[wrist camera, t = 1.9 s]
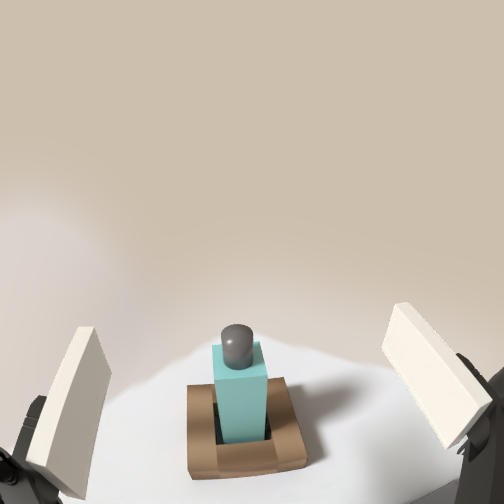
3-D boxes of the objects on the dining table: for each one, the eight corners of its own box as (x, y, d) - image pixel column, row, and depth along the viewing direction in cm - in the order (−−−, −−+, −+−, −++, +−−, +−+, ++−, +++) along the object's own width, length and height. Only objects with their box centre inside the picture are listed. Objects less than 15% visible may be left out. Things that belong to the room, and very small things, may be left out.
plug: (221, 421, 32) (209, 319, 26) (257, 417, 33) (259, 316, 26) (224, 450, 28) (210, 354, 22) (263, 446, 29) (268, 349, 22)
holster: (190, 399, 35) (187, 385, 34) (282, 391, 37) (283, 377, 36) (192, 479, 24) (187, 469, 23) (304, 467, 26) (307, 457, 25)
